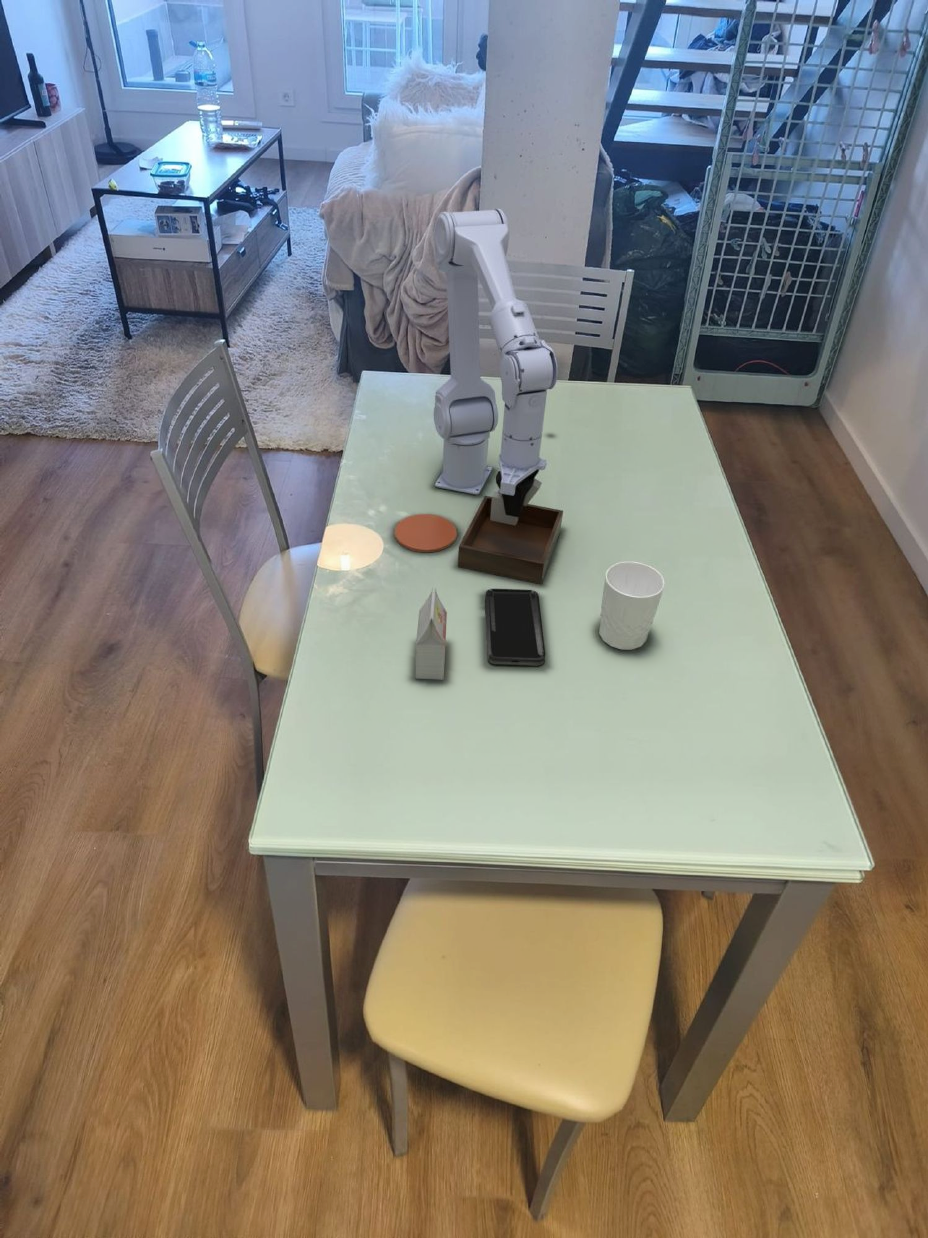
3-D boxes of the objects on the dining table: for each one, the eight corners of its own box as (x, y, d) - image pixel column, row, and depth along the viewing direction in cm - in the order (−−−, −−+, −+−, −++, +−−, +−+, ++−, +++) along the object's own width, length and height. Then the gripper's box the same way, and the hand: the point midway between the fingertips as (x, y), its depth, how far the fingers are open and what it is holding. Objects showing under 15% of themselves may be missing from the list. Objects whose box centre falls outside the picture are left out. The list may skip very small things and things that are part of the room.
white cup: (615, 659, 112) (628, 603, 106) (583, 625, 117) (594, 569, 111) (661, 643, 115) (676, 587, 108) (628, 610, 120) (641, 555, 114)
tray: (483, 515, 138) (484, 495, 135) (560, 530, 135) (563, 510, 133) (457, 566, 127) (458, 546, 124) (541, 584, 124) (543, 563, 122)
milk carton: (415, 678, 108) (416, 620, 101) (418, 643, 113) (419, 586, 106) (443, 679, 108) (445, 622, 101) (445, 645, 113) (447, 588, 106)
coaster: (406, 512, 137) (406, 509, 137) (463, 523, 135) (464, 520, 135) (385, 545, 130) (385, 542, 130) (445, 557, 128) (446, 554, 128)
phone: (537, 590, 121) (546, 660, 110) (537, 595, 122) (545, 666, 110) (484, 588, 121) (487, 658, 109) (484, 594, 121) (486, 664, 110)
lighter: (489, 520, 128) (493, 475, 122) (492, 514, 129) (496, 469, 124) (534, 529, 126) (540, 484, 121) (536, 523, 128) (542, 478, 122)
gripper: (538, 460, 111) (529, 542, 120) (559, 413, 122) (549, 492, 131) (488, 451, 113) (482, 532, 122) (513, 406, 123) (506, 483, 132)
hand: (514, 511), depth 126 cm, fingers closed on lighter, 2 cm apart
